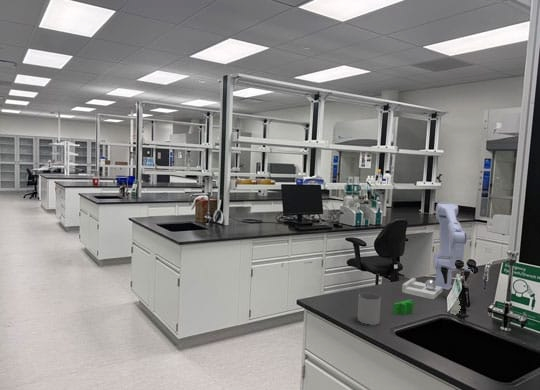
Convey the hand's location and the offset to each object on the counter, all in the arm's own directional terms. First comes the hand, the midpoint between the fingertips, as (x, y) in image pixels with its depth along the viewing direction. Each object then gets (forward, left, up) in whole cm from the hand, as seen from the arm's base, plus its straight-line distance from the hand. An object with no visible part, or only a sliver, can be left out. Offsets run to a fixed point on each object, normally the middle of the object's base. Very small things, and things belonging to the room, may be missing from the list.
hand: (454, 285), depth 179 cm
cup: (+53, -20, -7) cm, 57 cm away
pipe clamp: (+34, -12, -7) cm, 36 cm away
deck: (-1, -15, -7) cm, 16 cm away
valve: (+16, +5, -7) cm, 19 cm away
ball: (0, -11, -2) cm, 11 cm away
